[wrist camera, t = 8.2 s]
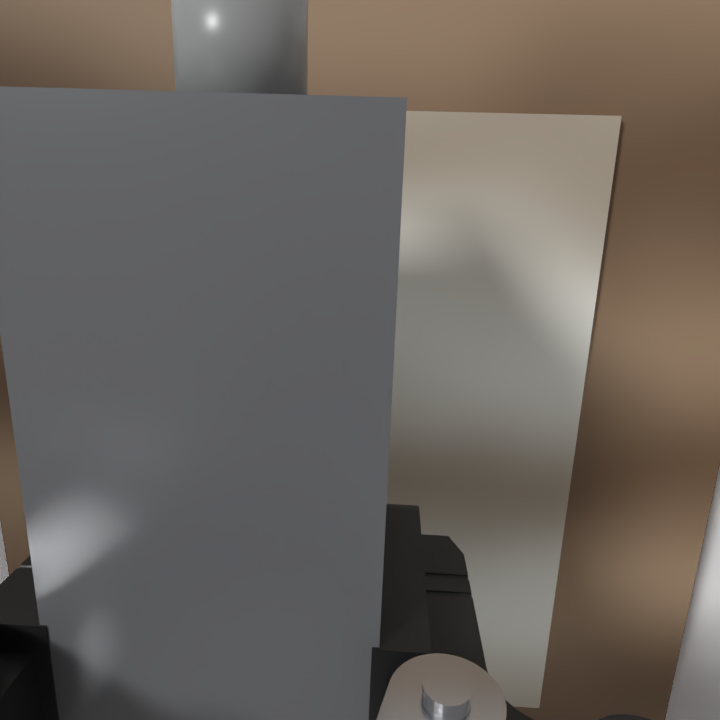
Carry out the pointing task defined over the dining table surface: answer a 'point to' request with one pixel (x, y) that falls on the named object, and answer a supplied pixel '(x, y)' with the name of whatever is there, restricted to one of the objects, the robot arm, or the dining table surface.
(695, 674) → the dining table surface
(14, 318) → the marker
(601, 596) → the writing board
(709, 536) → the dining table surface
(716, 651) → the dining table surface
